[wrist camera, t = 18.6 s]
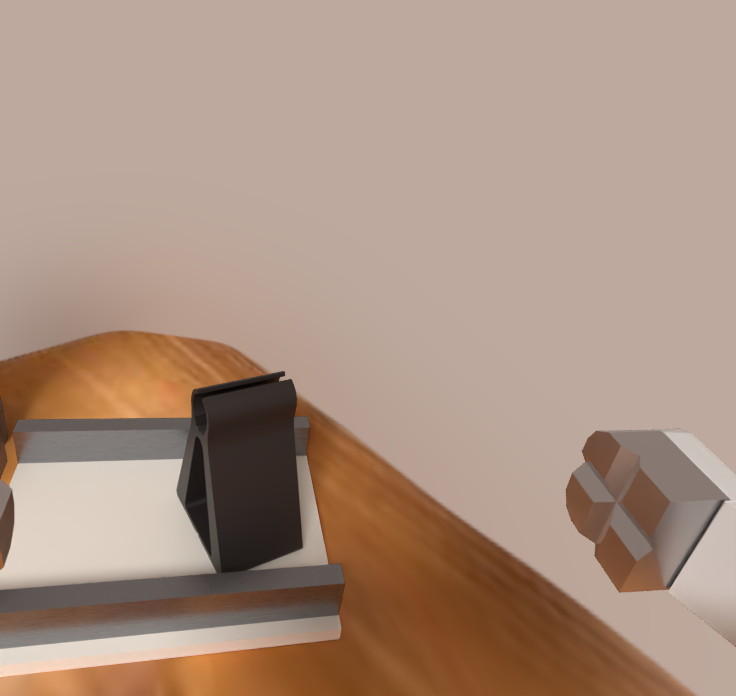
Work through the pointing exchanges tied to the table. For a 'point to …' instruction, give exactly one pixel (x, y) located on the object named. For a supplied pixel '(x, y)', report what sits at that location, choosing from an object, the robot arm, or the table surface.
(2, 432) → the candle holder
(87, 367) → the table surface
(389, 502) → the table surface
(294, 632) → the track base
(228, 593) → the track rails
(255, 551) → the phone stand
